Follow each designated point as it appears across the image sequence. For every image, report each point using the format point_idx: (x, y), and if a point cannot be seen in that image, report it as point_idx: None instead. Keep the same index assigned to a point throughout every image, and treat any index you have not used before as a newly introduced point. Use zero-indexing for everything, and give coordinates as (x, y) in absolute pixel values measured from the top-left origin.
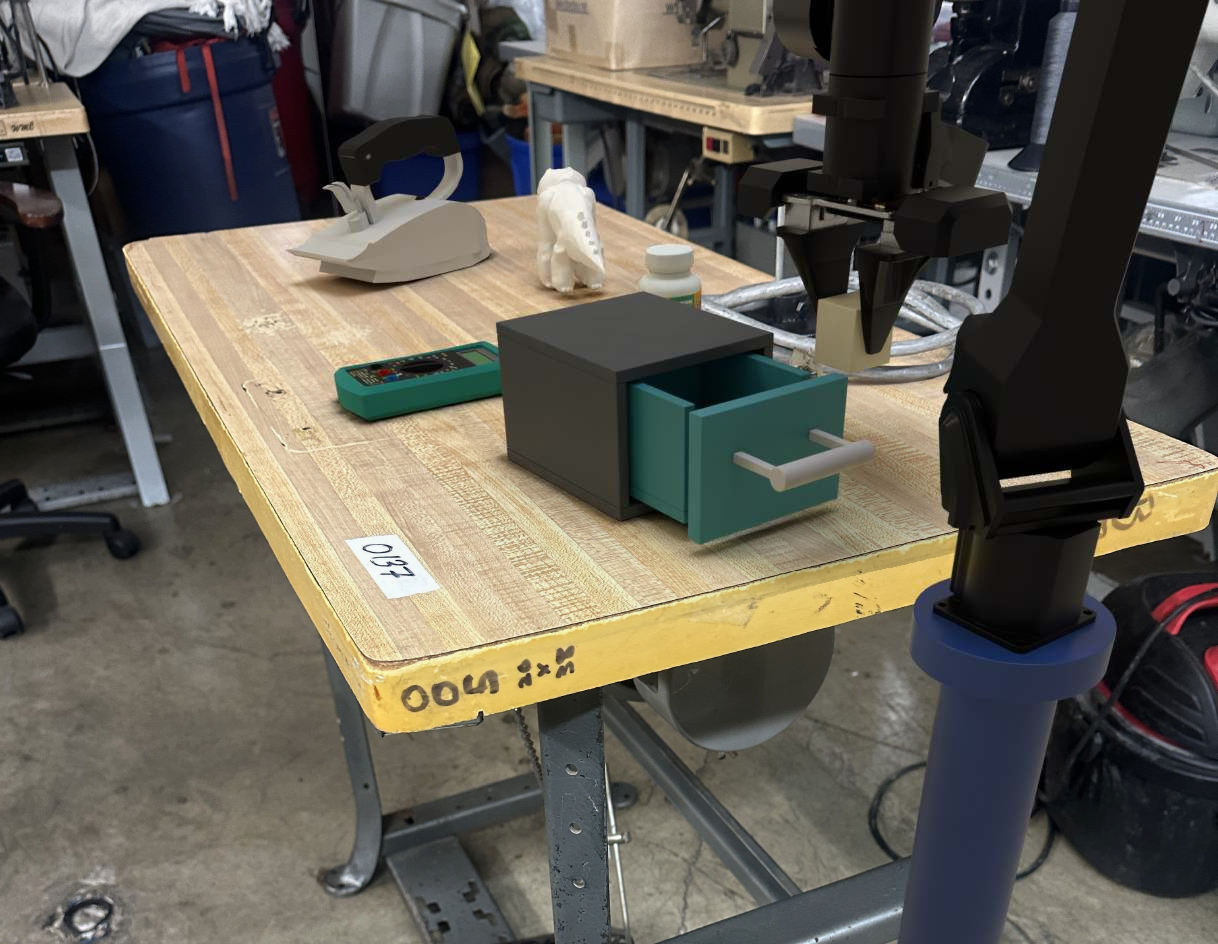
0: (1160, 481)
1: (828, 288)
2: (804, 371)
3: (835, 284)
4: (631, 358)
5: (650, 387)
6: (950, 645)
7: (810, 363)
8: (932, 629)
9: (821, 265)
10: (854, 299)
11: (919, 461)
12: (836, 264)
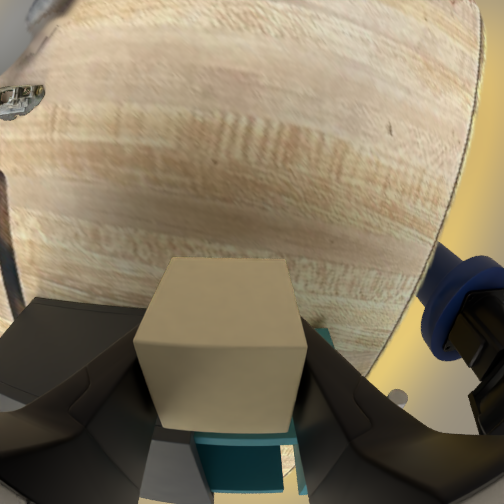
0: (478, 47)
1: (141, 420)
2: (296, 440)
3: (133, 411)
4: (189, 499)
5: (225, 491)
6: (456, 359)
7: (1, 90)
8: (446, 358)
9: (132, 476)
10: (213, 400)
11: (296, 150)
12: (114, 448)
